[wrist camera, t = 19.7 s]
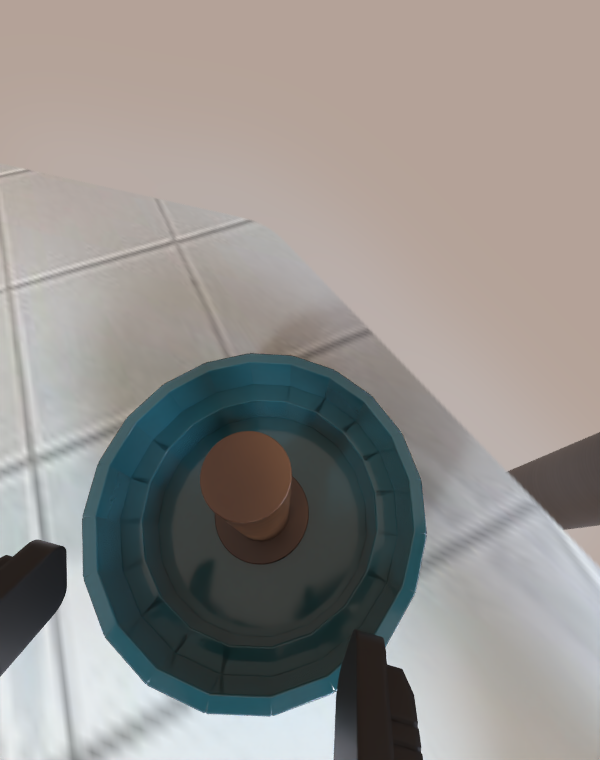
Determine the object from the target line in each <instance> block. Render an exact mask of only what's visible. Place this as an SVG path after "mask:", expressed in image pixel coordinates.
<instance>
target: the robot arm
mask: <svg viewBox="0 0 600 760" xmlns="http://www.w3.org/2000/svg"><path fill="white" fill-rule="evenodd" d="M66 589H67V568H66V549H65V547H63V546H60V545H56V544H52V543H49V542H45V541H42V540H34V541H32V542H30V543H29V544H27V545H26V546H25V547H24V548H23V549H21V550H20V551H19V552H18V553H17V554H16V555H14V556H13V557H12V556H8V555H5V556H3V557H1V558H0V676H1V675H2V674H3V673H4V672H5V671H6V669H7V668H8V667H9V666H10V665H11V664H12V662H13V661H14V660H15V659H16V658H17V657H18V656H19V654H20V653H21V652H22V651H23V650H24V649H25V647H26V646H27V645H28V644H29V643H30V642H31V640H32V639H33V638H34V637H35V636H36V635H37V633H38V632H39V631H40V630H41V629H42V628H43V627H44V625H45V624H46V623H47V622H48V621H49V620H50V618H51V617H52V616H53V615H54V614H55V612H56V611H57V610H58V608H59V607H60V605H61V603H62V601H63V599H64V596H65V593H66ZM417 725H418V721H417V713H416V706H415V699H414V694H413V692H412V690H411V687H410V685H409V683H408V681H407V679H406V676H405V674H404V672H403V670H402V669H400V668H397V667H393V666H390V665H387V662H386V650H385V642H384V638H383V637H381V636H377V635H374V634H370V633H367V632H363V631H359V630H356V629H354V630H353V633H352V635H351V638H350V641H349V644H348V648H347V651H346V654H345V657H344V660H343V663H342V666H341V669H340V673H339V678H338V685H337V695H336V715H335V739H334V760H423V757H422V754H421V742H420V735H419V729H418V727H417Z"/></svg>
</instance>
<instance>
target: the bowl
mask: <svg viewBox="0 0 600 760" xmlns="http://www.w3.org/2000/svg"><path fill="white" fill-rule="evenodd" d="M242 431H255V432H260V433H263V434H266V435H268V436H270V437H272V438H273V439H275V440H276V441H277V442H278V443H279V444H280V445H281V446H282V447H283V448H284V450H285V451H286V453H287V455H288V457H289V460H290V463H291V468H292V476H293V477H294V478H295V479H296V480H297V481H298V483H299V484H300V485H301V487H302V489H303V491H304V493H305V495H306V498H307V502H308V508H309V519H308V524H307V528H306V531H305V534H304V536H303V538H302V540H301V541H300V543H299V544H298V546H297V547H296V548H295V549H294V550H293V551H292V552H291V553H290V554H289V555H288V556H286V557H285V558H283V559H281V560H279V561H277V562H274V563H270V564H262V565H261V564H251V563H247V562H244V561H242V560H240V559H238V558H236V557H235V556H233V555H232V554H231V553H230V552H229V551H228V550H227V549H226V548H225V547H224V545H223V544H222V542H221V540H220V538H219V536H218V533H217V530H216V526H215V513H214V512H213V511H212V510H211V509H210V507H209V506H208V505H207V503H206V501H205V500H204V498H203V495H202V492H201V487H200V473H201V468H202V465H203V462H204V460H205V457H206V456H207V454H208V453H209V451H210V450H211V449H212V447H213V446H214V445H215V444H216V443H218V442H219V441H220V440H222V439H223V438H225V437H227V436H229V435H231V434H234V433H237V432H242ZM420 479H421V478H420V476H419V473H418V471H417V468H416V466H415V464H414V461H413V459H412V456H411V454H410V452H409V449H408V447H407V445H406V442H405V440H404V437H403V435H402V433H401V431H400V430H399V429H398V428H397V426H396V425H395V424H394V423H393V421H392V420H391V419H390V418H389V417H388V415H387V414H386V413H385V412H384V410H383V409H382V408H381V407H380V405H379V404H378V403H377V402H376V401H375V399H374V398H373V397H372V396H371V395H370V394H369V393H367V392H366V391H364V390H363V389H361V388H360V387H358V386H357V385H356V384H354V383H353V382H351V381H350V380H348V379H347V378H345V377H344V376H343V375H341V374H340V373H338V372H337V371H334V370H333V369H330V368H327V367H325V366H322V365H319V364H316V363H313V362H310V361H307V360H304V359H301V358H298V357H295V356H290V355H272V354H254V353H250V354H244V355H239V356H234V357H230V358H225V359H221V360H216V361H211V362H207V363H206V364H205V363H204V364H202V365H200V366H198V367H196V368H194V369H192V370H190V371H188V372H186V373H185V374H183V375H181V376H179V377H177V378H175V379H173V380H171V381H169V382H167V383H165V384H164V385H162V386H161V387H160V388H159V389H158V390H157V391H156V392H154V393H153V394H152V395H151V396H150V397H149V398H148V399H147V400H146V401H145V402H143V403H142V404H141V405H140V406H139V407H138V408H137V409H136V410H135V411H134V412H133V413H131V414H130V415H129V416H128V417H127V419H126V420H125V421H124V423H123V424H122V426H121V428H120V429H119V431H118V432H117V434H116V436H115V437H114V439H113V440H112V442H111V443H110V445H109V447H108V448H107V450H106V451H105V453H104V455H103V456H102V458H101V459H100V461H99V464H98V465H97V468H96V472H95V475H94V479H93V482H92V486H91V489H90V492H89V496H88V499H87V503H86V506H85V510H84V513H83V518H82V539H83V577H84V582H85V584H86V587H87V590H88V593H89V595H90V598H91V601H92V604H93V606H94V609H95V612H96V615H97V617H98V620H99V623H100V626H101V628H102V631H103V634H104V636H105V638H106V639H107V640H108V641H109V643H110V644H111V645H112V646H113V647H114V648H115V650H116V651H117V652H118V653H119V654H120V655H121V656H122V658H123V659H124V660H125V661H126V662H127V663H128V664H129V666H130V667H131V668H132V669H133V670H134V671H135V672H136V674H137V675H138V676H139V677H140V678H141V679H142V681H143V682H144V683H145V684H147V685H148V686H149V687H151V688H153V689H155V690H157V691H160V692H162V693H164V694H166V695H168V696H170V697H172V698H174V699H176V700H178V701H180V702H182V703H184V704H186V705H188V706H190V707H192V708H194V709H196V710H198V711H201V712H203V713H207V714H222V715H246V716H271V715H272V716H275V715H277V714H280V713H283V712H285V711H288V710H291V709H293V708H296V707H299V706H301V705H304V704H307V703H310V702H312V701H315V700H318V699H320V698H323V697H326V696H328V695H331V694H333V693H334V692H337V685H338V678H339V673H340V669H341V666H342V663H343V660H344V657H345V654H346V651H347V648H348V644H349V641H350V638H351V635H352V633H353V630H354V629H356V630H359V631H363V632H367V633H370V634H374V635H377V636H381V637H383V638H384V642H385V647H386V645H387V644H388V642H389V640H390V638H391V636H392V635H393V633H394V631H395V629H396V627H397V626H398V624H399V622H400V620H401V618H402V617H403V615H404V613H405V611H406V609H407V608H408V606H409V604H410V602H411V600H412V599H413V597H414V595H415V592H416V588H417V583H418V578H419V573H420V568H421V563H422V557H423V552H424V547H425V542H426V537H427V535H426V534H427V531H426V521H425V512H424V502H423V493H422V483H421V480H420Z"/></svg>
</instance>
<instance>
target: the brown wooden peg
mask: <svg viewBox="0 0 600 760" xmlns="http://www.w3.org/2000/svg"><path fill="white" fill-rule="evenodd" d="M200 487H201V492H202V495H203V498H204V500H205V501H206V503H207V505H208V506H209V507H210V509H211V510H212V511H213V512H214V513H215V526H216V530H217V533H218V536H219V538H220V540H221V542H222V544H223V545H224V547H225V548H226V549H227V550H228V551H229V552H230V553H231V554H232V555H233V556H235V557H236V558H238V559H240V560H242V561H244V562H247V563H251V564H261V565H262V564H270V563H274V562H277V561H279V560H281V559H283V558H285V557H286V556H288V555H289V554H290V553H291V552H292V551H293V550H294V549H295V548H296V547H297V546H298V544H299V543H300V541H301V540H302V538H303V536H304V534H305V531H306V528H307V524H308V519H309V508H308V502H307V498H306V495H305V493H304V491H303V489H302V487H301V485H300V484H299V483H298V481H297V480H296V479H295V478H294V477H293V476H292V468H291V463H290V460H289V457H288V455H287V453H286V451H285V450H284V448H283V447H282V446H281V445H280V444H279V443H278V442H277V441H276V440H275V439H273V438H272V437H270V436H268V435H266V434H263V433H260V432H255V431H242V432H237V433H234V434H231V435H229V436H227V437H225V438H223V439H222V440H220V441H219V442H218V443H216V444H215V445H214V446H213V447H212V449H211V450H210V451H209V453H208V454H207V456H206V457H205V460H204V462H203V465H202V468H201V473H200Z"/></svg>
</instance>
